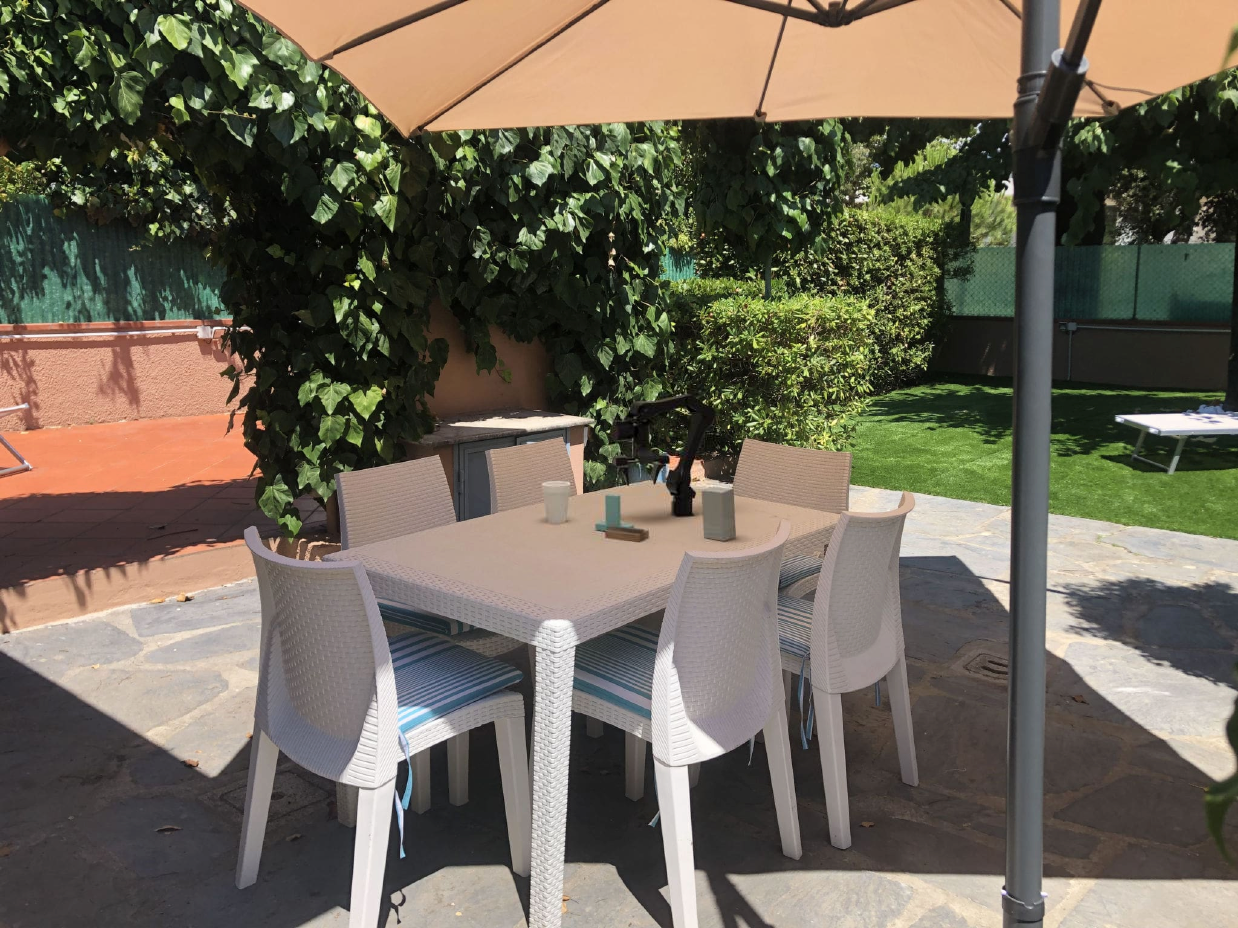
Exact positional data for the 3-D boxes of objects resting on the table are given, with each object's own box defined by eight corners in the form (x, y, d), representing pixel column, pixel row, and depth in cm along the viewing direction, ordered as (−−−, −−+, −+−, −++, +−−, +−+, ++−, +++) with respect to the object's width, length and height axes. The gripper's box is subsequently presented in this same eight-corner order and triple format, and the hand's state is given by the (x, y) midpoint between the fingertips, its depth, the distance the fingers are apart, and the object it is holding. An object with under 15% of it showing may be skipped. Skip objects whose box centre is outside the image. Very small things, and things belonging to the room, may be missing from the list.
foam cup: (575, 519, 335) (574, 482, 333) (562, 525, 327) (562, 487, 325) (551, 517, 339) (550, 480, 337) (537, 523, 331) (536, 485, 329)
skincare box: (736, 538, 307) (736, 488, 305) (722, 542, 302) (722, 491, 300) (714, 534, 313) (715, 485, 310) (700, 538, 308) (700, 488, 305)
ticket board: (615, 533, 315) (615, 522, 315) (649, 537, 309) (649, 526, 308) (604, 537, 310) (604, 526, 309) (639, 542, 303) (639, 531, 303)
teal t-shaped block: (602, 527, 323) (601, 492, 321) (634, 531, 317) (633, 495, 315) (595, 529, 319) (594, 494, 317) (627, 533, 313) (627, 497, 311)
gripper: (620, 443, 320) (620, 490, 322) (674, 441, 324) (674, 487, 327) (611, 439, 330) (612, 485, 333) (664, 437, 335) (664, 482, 337)
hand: (641, 485), depth 332 cm, fingers open, 9 cm apart
